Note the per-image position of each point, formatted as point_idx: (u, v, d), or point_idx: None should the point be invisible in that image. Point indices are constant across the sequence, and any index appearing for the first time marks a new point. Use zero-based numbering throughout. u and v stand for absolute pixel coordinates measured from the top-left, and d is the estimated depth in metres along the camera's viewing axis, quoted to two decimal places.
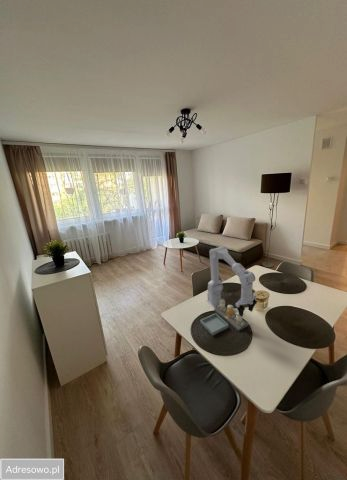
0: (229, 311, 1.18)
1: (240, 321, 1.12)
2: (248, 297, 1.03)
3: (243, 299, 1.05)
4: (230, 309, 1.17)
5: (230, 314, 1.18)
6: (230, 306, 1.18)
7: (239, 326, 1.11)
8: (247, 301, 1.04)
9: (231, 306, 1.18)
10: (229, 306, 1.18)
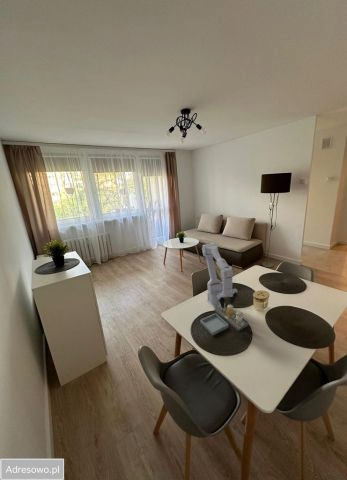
0: (229, 311, 1.18)
1: (240, 321, 1.12)
2: (228, 290, 1.12)
3: (224, 292, 1.14)
4: (230, 309, 1.17)
5: (230, 314, 1.18)
6: (230, 306, 1.18)
7: (239, 326, 1.11)
8: (227, 294, 1.13)
9: (231, 306, 1.18)
10: (229, 306, 1.18)
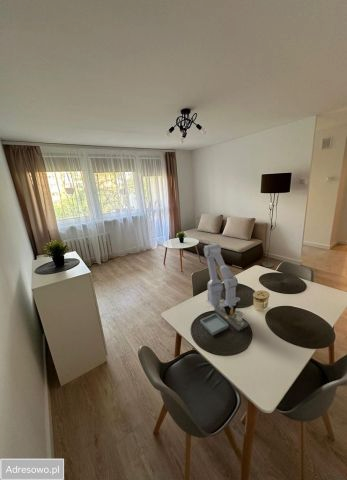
0: None
1: (240, 321, 1.12)
2: (231, 299, 1.14)
3: (227, 301, 1.15)
4: (230, 309, 1.17)
5: (230, 314, 1.18)
6: (230, 306, 1.18)
7: (239, 326, 1.11)
8: (231, 303, 1.14)
9: (231, 306, 1.18)
10: (229, 306, 1.18)
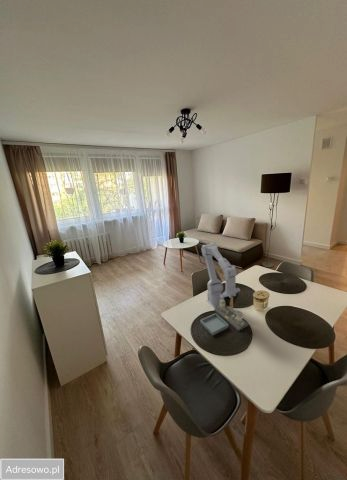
0: None
1: (240, 321, 1.12)
2: (231, 289, 1.11)
3: (227, 291, 1.13)
4: (230, 300, 1.15)
5: (230, 305, 1.16)
6: (230, 297, 1.16)
7: (239, 326, 1.11)
8: (231, 293, 1.12)
9: (231, 297, 1.16)
10: (229, 297, 1.16)
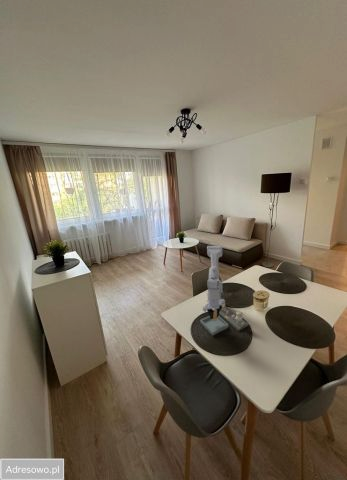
0: None
1: (240, 321, 1.12)
2: (214, 302, 1.07)
3: (210, 303, 1.09)
4: None
5: (214, 318, 1.12)
6: (214, 309, 1.12)
7: (239, 326, 1.11)
8: (214, 305, 1.08)
9: (215, 309, 1.12)
10: (213, 309, 1.12)
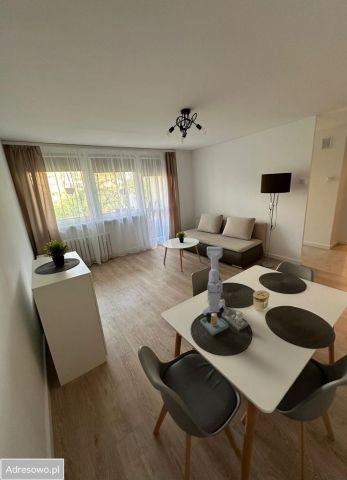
0: (213, 320, 1.13)
1: (240, 321, 1.12)
2: (214, 305, 1.08)
3: (210, 307, 1.10)
4: (214, 318, 1.12)
5: (214, 323, 1.13)
6: (214, 315, 1.13)
7: (239, 326, 1.11)
8: (214, 309, 1.09)
9: (215, 315, 1.13)
10: (213, 315, 1.13)
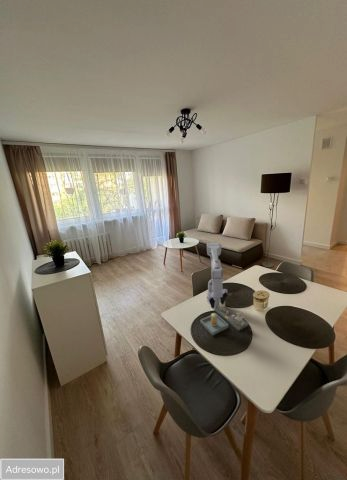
0: (213, 320, 1.13)
1: (240, 321, 1.12)
2: (218, 290, 1.12)
3: (214, 292, 1.14)
4: (214, 318, 1.12)
5: (214, 323, 1.13)
6: (214, 315, 1.13)
7: (239, 326, 1.11)
8: (217, 294, 1.13)
9: (215, 315, 1.13)
10: (213, 315, 1.13)
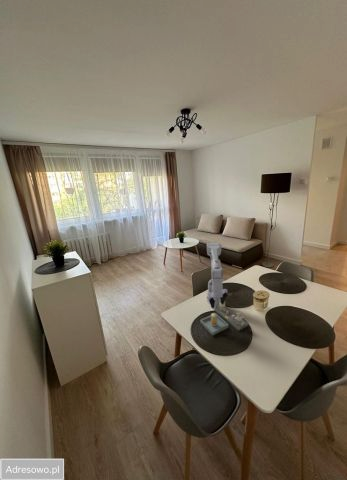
0: (213, 320, 1.13)
1: (240, 321, 1.12)
2: (218, 290, 1.12)
3: (214, 292, 1.14)
4: (214, 318, 1.12)
5: (214, 323, 1.13)
6: (214, 315, 1.13)
7: (239, 326, 1.11)
8: (217, 294, 1.13)
9: (215, 315, 1.13)
10: (213, 315, 1.13)
